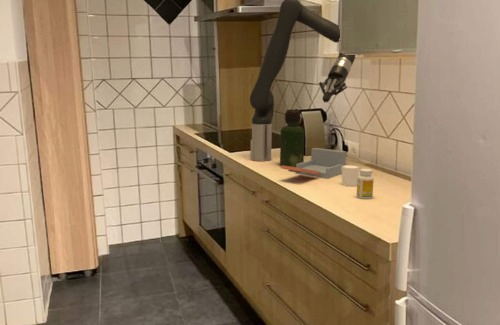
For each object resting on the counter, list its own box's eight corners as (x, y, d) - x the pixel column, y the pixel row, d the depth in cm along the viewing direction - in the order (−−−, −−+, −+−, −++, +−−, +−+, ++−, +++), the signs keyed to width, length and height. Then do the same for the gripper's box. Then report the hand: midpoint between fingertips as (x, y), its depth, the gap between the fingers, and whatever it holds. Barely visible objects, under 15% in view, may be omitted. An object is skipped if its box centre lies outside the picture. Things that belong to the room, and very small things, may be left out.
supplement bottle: (353, 197, 175) (354, 169, 173) (361, 194, 179) (363, 167, 177) (367, 200, 172) (368, 172, 170) (375, 197, 176) (376, 169, 174)
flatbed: (314, 167, 224) (315, 147, 222) (345, 172, 215) (346, 151, 213) (296, 173, 212) (296, 152, 211) (327, 178, 203) (328, 156, 202)
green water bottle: (307, 167, 225) (308, 110, 220) (285, 168, 222) (286, 111, 217) (297, 163, 235) (299, 108, 230) (276, 164, 231) (277, 109, 227)
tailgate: (300, 168, 209) (281, 165, 197) (320, 171, 204) (301, 168, 192) (300, 173, 209) (280, 169, 197) (319, 176, 204) (300, 172, 192)
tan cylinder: (337, 183, 195) (337, 165, 194) (352, 182, 198) (353, 164, 196) (346, 187, 189) (347, 169, 188) (362, 186, 191) (363, 167, 190)
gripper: (323, 64, 219) (308, 94, 212) (351, 64, 211) (336, 95, 204) (329, 76, 224) (314, 106, 217) (356, 77, 216) (342, 107, 209)
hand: (325, 100), depth 210 cm, fingers closed
